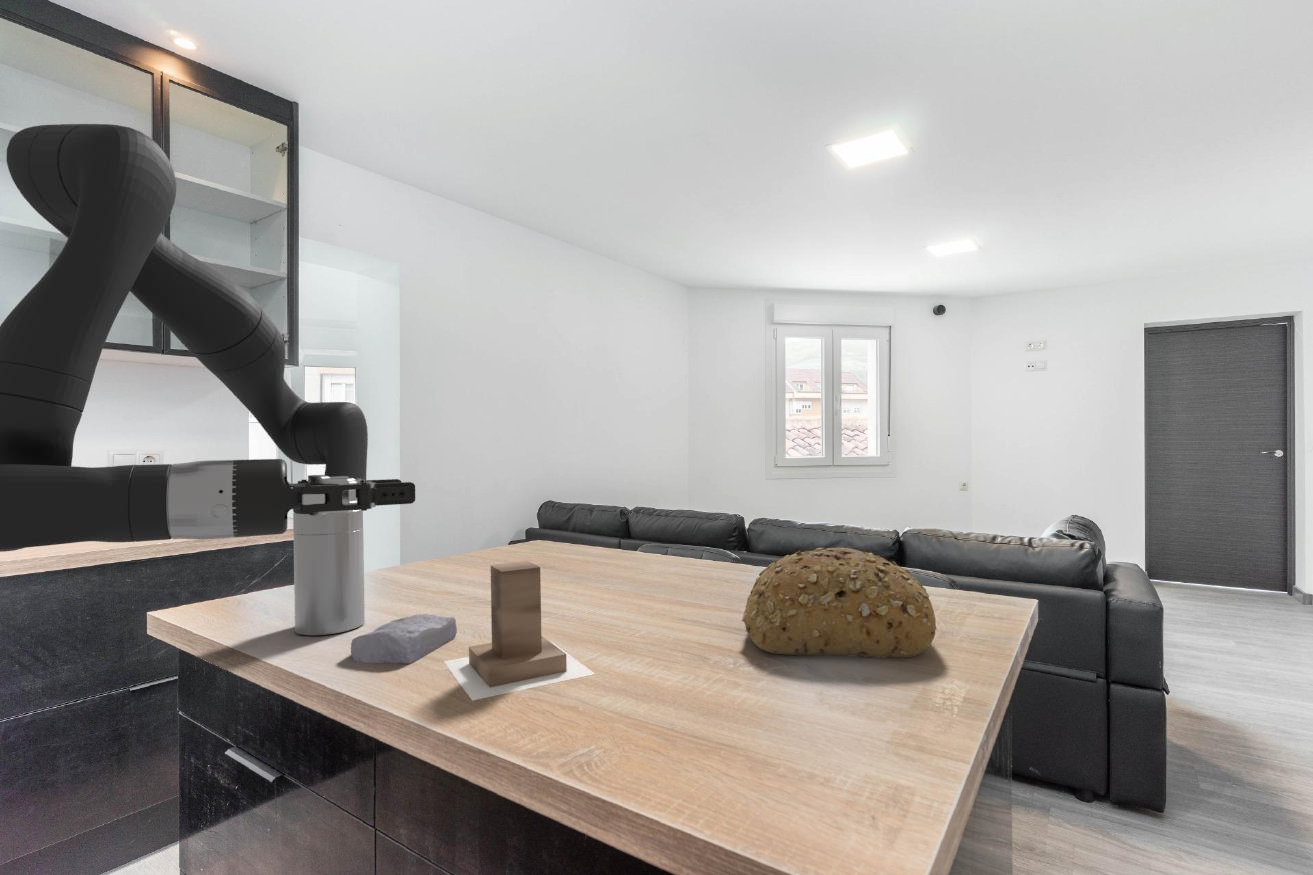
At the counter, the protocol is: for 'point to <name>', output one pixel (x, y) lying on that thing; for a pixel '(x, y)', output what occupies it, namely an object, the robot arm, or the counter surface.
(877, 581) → the bread
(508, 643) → the walnut stamp
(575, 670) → the tile
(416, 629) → the stone block
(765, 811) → the counter surface
